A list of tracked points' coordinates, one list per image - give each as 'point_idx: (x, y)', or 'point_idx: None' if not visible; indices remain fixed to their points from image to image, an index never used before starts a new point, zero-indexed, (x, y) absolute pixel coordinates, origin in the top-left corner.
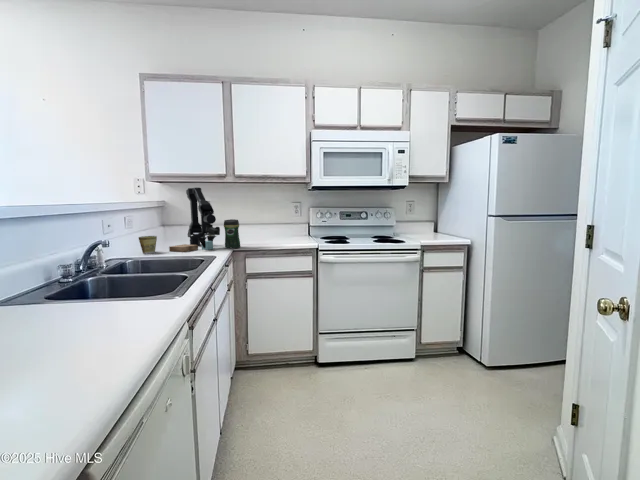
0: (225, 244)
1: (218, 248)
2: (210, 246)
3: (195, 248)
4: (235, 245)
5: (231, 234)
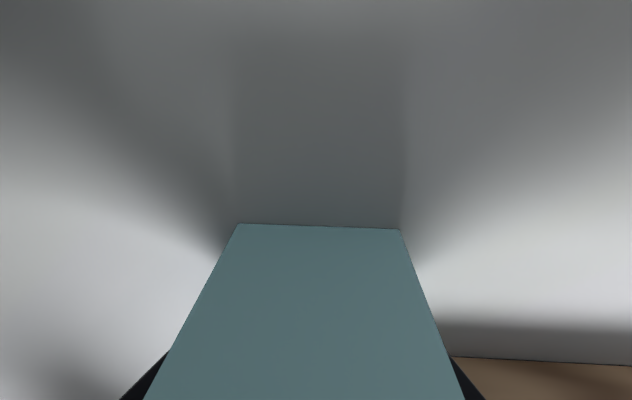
0: None
1: (161, 130)
2: (312, 264)
3: (474, 383)
4: None
5: None
